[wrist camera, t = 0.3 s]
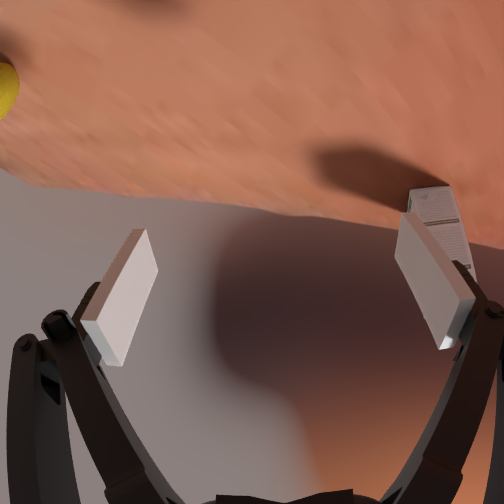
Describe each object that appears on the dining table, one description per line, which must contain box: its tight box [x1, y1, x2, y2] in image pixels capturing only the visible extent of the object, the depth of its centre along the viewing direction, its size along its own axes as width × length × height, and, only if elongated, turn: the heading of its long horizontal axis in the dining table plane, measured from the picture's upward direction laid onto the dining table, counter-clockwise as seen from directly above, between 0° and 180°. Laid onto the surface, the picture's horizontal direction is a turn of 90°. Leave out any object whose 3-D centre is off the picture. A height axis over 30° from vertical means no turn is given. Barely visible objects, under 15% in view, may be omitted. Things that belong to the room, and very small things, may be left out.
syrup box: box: [407, 186, 477, 319], centre depth 33 cm, size 6×6×14 cm
